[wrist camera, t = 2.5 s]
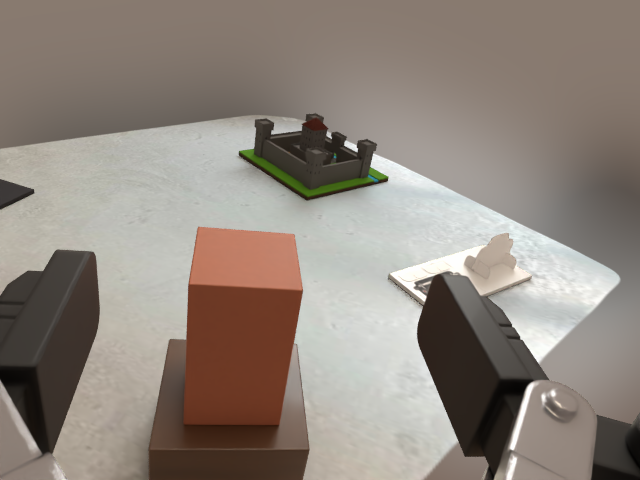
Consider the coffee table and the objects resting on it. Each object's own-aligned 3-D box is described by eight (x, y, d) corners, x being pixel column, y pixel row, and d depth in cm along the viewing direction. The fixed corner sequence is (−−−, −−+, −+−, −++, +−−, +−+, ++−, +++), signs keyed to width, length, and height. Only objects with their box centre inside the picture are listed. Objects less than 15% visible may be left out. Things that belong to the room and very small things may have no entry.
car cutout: (482, 248, 60) (494, 213, 57) (530, 278, 55) (546, 243, 53) (388, 277, 51) (398, 238, 49) (436, 316, 47) (450, 275, 44)
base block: (296, 507, 29) (310, 449, 26) (149, 510, 28) (148, 450, 25) (287, 397, 36) (297, 343, 33) (168, 395, 34) (169, 338, 32)
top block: (279, 425, 27) (303, 290, 23) (183, 425, 27) (188, 284, 22) (275, 359, 32) (294, 233, 27) (192, 356, 31) (197, 226, 26)
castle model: (238, 154, 72) (243, 102, 68) (318, 143, 81) (326, 96, 78) (306, 200, 63) (316, 142, 59) (387, 180, 73) (400, 130, 69)
